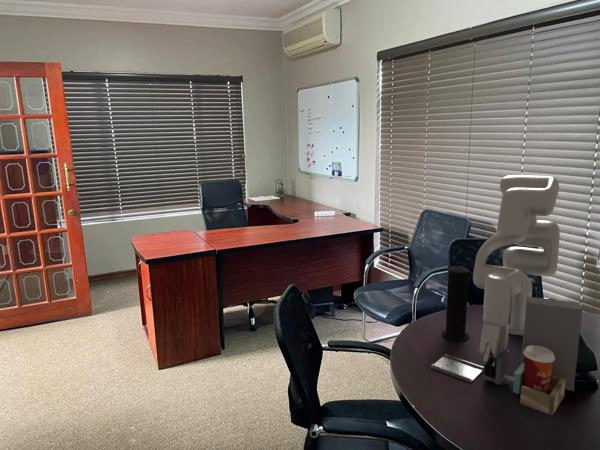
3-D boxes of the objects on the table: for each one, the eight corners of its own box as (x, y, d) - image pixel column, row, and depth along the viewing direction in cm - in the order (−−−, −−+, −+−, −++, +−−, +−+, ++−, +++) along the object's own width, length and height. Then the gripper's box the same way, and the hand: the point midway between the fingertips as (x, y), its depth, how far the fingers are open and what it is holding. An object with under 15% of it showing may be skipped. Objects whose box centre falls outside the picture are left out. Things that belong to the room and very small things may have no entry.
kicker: (490, 370, 135) (491, 343, 133) (527, 383, 127) (529, 355, 126) (480, 380, 130) (482, 352, 128) (518, 394, 123) (521, 364, 121)
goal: (533, 385, 129) (535, 367, 127) (564, 395, 123) (566, 377, 122) (520, 403, 120) (521, 384, 119) (552, 415, 115) (554, 395, 114)
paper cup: (540, 408, 118) (545, 360, 115) (513, 394, 124) (518, 349, 121) (556, 398, 122) (561, 352, 119) (529, 385, 128) (533, 341, 125)
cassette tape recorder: (571, 381, 130) (580, 301, 125) (573, 392, 125) (583, 309, 120) (519, 371, 136) (526, 295, 131) (519, 381, 131) (526, 302, 126)
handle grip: (442, 341, 157) (472, 343, 155) (445, 270, 151) (476, 271, 149) (439, 329, 166) (467, 330, 164) (442, 262, 161) (471, 263, 159)
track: (444, 356, 146) (444, 353, 146) (484, 370, 137) (484, 366, 137) (431, 367, 139) (431, 364, 139) (471, 382, 131) (471, 379, 130)
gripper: (494, 304, 135) (491, 358, 139) (472, 321, 123) (468, 380, 127) (520, 310, 130) (516, 366, 134) (499, 329, 118) (495, 390, 122)
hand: (493, 372), depth 130 cm, fingers closed on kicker, 4 cm apart
